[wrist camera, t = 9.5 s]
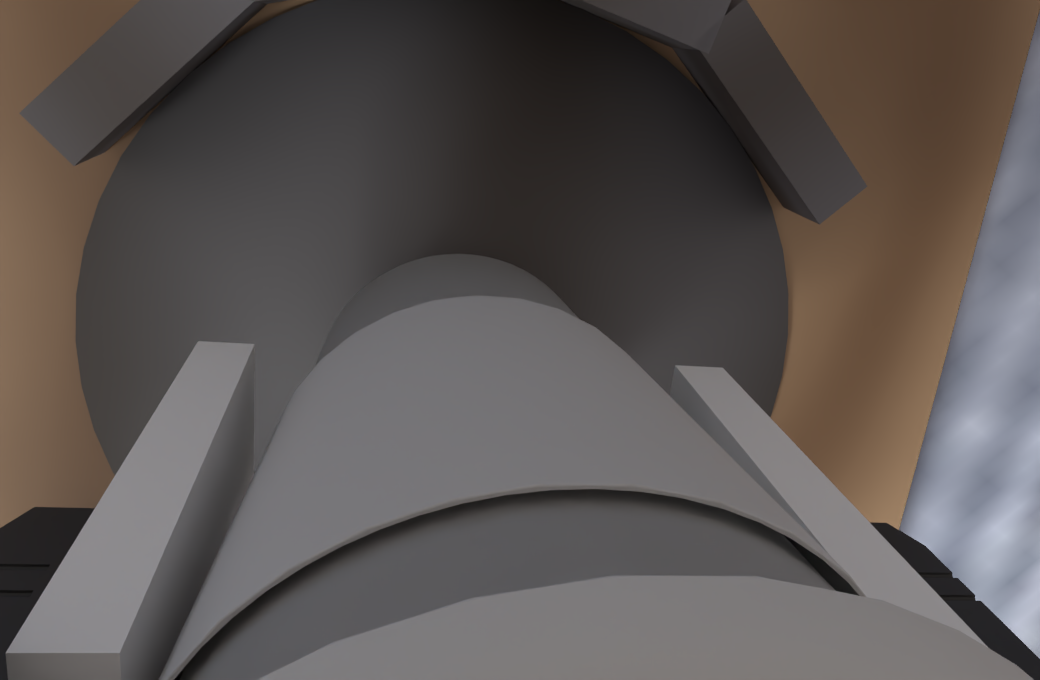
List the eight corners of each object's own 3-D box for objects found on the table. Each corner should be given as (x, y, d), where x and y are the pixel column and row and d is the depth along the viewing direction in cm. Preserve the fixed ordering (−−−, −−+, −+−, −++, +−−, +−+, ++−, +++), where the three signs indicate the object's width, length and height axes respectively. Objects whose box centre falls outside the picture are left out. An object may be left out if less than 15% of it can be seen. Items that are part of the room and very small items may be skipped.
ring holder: (-53, 708, 19) (-121, 811, 17) (-179, -271, 13) (-312, -339, 11) (820, 698, 22) (875, 784, 20) (1024, -97, 16) (1138, -119, 14)
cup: (587, 120, 14) (1353, 507, 3) (704, 466, 16) (1371, 1426, 5) (166, 289, 14) (-740, 1343, 3) (344, 610, 16) (235, 1876, 5)
